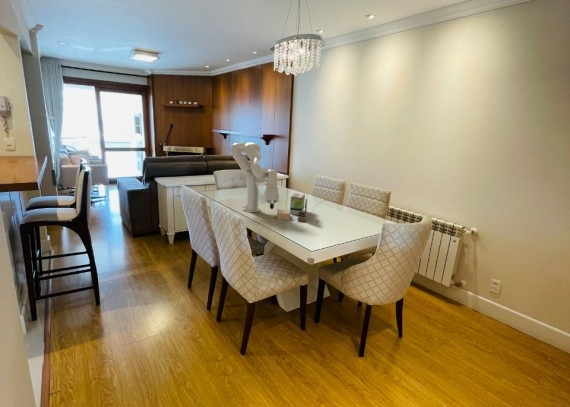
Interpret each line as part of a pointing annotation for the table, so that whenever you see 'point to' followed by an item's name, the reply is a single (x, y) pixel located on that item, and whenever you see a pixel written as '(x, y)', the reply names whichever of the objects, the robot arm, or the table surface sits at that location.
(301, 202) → the tea box
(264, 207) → the table surface
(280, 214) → the carton
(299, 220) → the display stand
